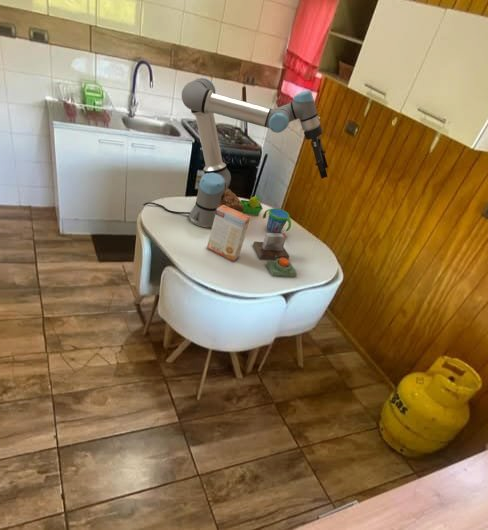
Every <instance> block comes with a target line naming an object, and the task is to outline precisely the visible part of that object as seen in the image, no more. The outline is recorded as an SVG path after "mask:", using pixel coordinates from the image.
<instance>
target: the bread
mask: <svg viewBox="0 0 488 530" xmlns="http://www.w3.org/2000/svg"><path fill="white" fill-rule="evenodd" d="M222 205H226V206H228V207H230V208H232V209H234V210H237V211H239V212H241V213H242V209H243V206H242V203H241V199H240V198H239V197H238V196H237V195H236V194H235V193H234V192H233V191H232V190H231V189H230V188H229V187H228V188H227V189H226V190H225V192H224V193H223V195H222V197H221V200H220V204H219V207H220V206H222Z"/></svg>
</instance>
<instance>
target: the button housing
mask: <svg viewBox="0 0 488 530" xmlns="http://www.w3.org/2000/svg"><path fill="white" fill-rule="evenodd" d="M266 261H267V262H266V264H265V265H266V268H267V269H268V270H269V273H270V275H271V276H272V277H293V278H294V277H296V276H297V273H298V272H297V270H296V269H295V267H294V266H293V265H292V263H291V262H289V265H288V267H283V266H281V265H279V264H278V262H279V259H276V260H266Z"/></svg>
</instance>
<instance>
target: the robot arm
mask: <svg viewBox="0 0 488 530" xmlns="http://www.w3.org/2000/svg"><path fill="white" fill-rule="evenodd" d="M181 101H182V103H183V105H184V106H185V107H186V108H187V109H188V110H190V112H191V113H190V114H191V115H193V116H194V117H195V121H196V125H197V130H198V135H199V140H200V145H201V151H202V153H203V159H204V164H205V166H204V167H203V175H202V176H201V178H200V180H199V185H198V190H197V195H196V199H195V204H194V206H193V207H192V209H191V210H190V212H189V211H175V210H170V209H168V208H166V207H165V206H164V205H162V204H159V203H157V202H151V201H149V202H144V203H143V204H142V205H143V206H146V205H154V206H158V207H161V208H162V209H164V210H165V211H166V212H168V213H172V214H180V215H182V214H183V215H184V214H185V215H188V219H189V221H190V222H191V223H192V224H193V225H195V226H197V227H200V228H204V229H212V226H213V222H214V218H215V214H216V210H217V208H218V207H219V204H220V200H221V197H222V195H223V193H224V192H225V190H226V189H227V188H228V189H229V187H230V184H231V181H232V176H231V172H230V171H229V169H228V168H227V164H226V163H225V162H223V157H222V152H221V145H220V139H219V134H218V129H217V125H216V120H215V114H216V115H219V116H223V117H227V118H231V119H234V120H238V121H241V122H245V123H248V124H252V125H255V126H256V125H257V126H259V127H263V128H266V129H270V130H271V132H272V133H277V134H278V133H279V134H280V133H282V132H284V131H285V130H286V129H287V128H288V126H289V124H290V123H291V122H293V121H297V120H298V119H299V122H300V126H301V129H302V131H303V136H304V138H305V140H306V141H307V140H308V141H309V140H311V143H310V145H311V147H312V151H313V154H314V159H315V162H316V163H315V166H317V168H318V172H319V176H320V178H321V180H322V179H325V178H328V173H327V169H328V168H329V165H328V162H327V159H326V155H325V154H326V150H325V149H324V148H323V144H322V139H321V138H320V136H322V135H323V134H324V131H323V128H322V125H321V122H320V119H321V117H320V116H319V114H318V110H317V107H316V102H315V99H314V96H313V93H312V91H311V90H304V91H301V92H300V93H297V94H295V95H293V101H291V102H289V103H286V104H284V105H282V106H279V107H275V108H270V107H268V106H267V107H266V106H264V105H259V104H255V103H252V102H248V101H244V100H240V99H238V98H233V97H229V96H226V95H223V94H222V95H221V94H217V93H216V87H215V85H214V83H213V82H212V81H211V80H210V79H208V78H203V77H201V78H195V79H194V80H192V81H188V83H186V84H185V85H184V86H183V88H182V90H181ZM132 259H135V252H132Z"/></svg>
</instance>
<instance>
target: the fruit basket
mask: <svg viewBox="0 0 488 530" xmlns="http://www.w3.org/2000/svg"><path fill="white" fill-rule="evenodd" d="M259 199H260V198H259V196H257V195H256V196H253V197H250V198H249V200H246V199H240V201H241V203H242V206H243V209H242V213H243V214H246V215H252V216H259V214H260V213H261V211H262V210H264V209H263V205H262V204H261V202H260V200H259Z"/></svg>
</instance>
